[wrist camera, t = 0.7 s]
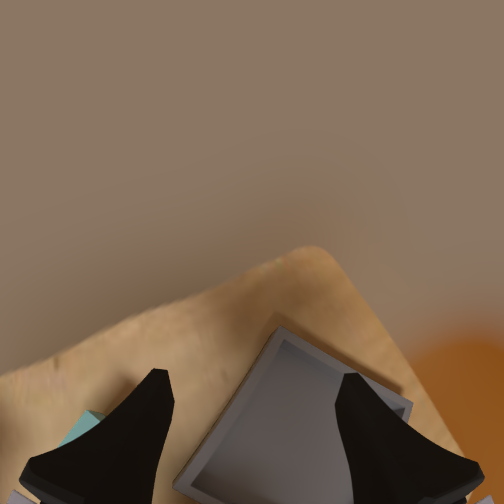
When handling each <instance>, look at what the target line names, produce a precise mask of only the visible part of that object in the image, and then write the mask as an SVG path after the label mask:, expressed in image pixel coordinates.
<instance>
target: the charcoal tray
mask: <svg viewBox="0 0 504 504" xmlns="http://www.w3.org/2000/svg"><path fill="white" fill-rule="evenodd" d="M356 372H357V371H355V370H354V369H352V368H350V367H348V366H347V365H345V364H343V363H342V362H340V361H338V360H336V359H335V358H333V357H331V356H330V355H328V354H326V353H325V352H323V351H321V350H320V349H318V348H316V347H315V346H313V345H311V344H310V343H308V342H306V341H305V340H303V339H302V338H300V337H298V336H297V335H295V334H293V333H292V332H290V331H289V330H287V329H285V328H284V327H282V326H281V325H280V326H279V327H278V328H277V329H276V330H275V331H274V332H273V333H272V334H271V336H270V338H269V339H268V341H267V343H266V344H265V346H264V348H263V349H262V351H261V352H260V354H259V356H258V357H257V359H256V361H255V362H254V364H253V365H252V367H251V369H250V370H249V372H248V373H247V375H246V377H245V378H244V380H243V381H242V383H241V384H240V386H239V388H238V389H237V391H236V392H235V394H234V395H233V397H232V398H231V400H230V401H229V403H228V404H227V406H226V408H225V409H224V411H223V412H222V414H221V415H220V417H219V418H218V419H217V421H216V422H215V424H214V425H213V427H212V428H211V430H210V431H209V433H208V434H207V436H206V437H205V438H204V440H203V441H202V443H201V444H200V446H199V447H198V448H197V450H196V451H195V453H194V454H193V455H192V457H191V458H190V460H189V461H188V462H187V464H186V465H185V466H184V468H183V469H182V471H181V472H180V473H179V475H178V476H177V477H176V479H175V480H174V481H173V487H172V488H173V489H175V490H177V491H179V492H180V493H182V494H184V495H186V496H188V497H190V498H191V499H193V500H195V501H197V502H199V503H201V504H354V500H353V490H352V482H351V474H350V469H349V465H348V461H347V458H346V454H345V450H344V447H343V443H342V440H341V436H340V433H339V429H338V425H337V419H336V413H335V405H334V404H335V401H336V398H337V395H338V392H339V389H340V386H341V383H342V380H343V376H344V373H356ZM358 373H359V372H358ZM359 374H360V375H361V376H362V377H363V379H364V380H365V381H366V382H367V383H368V384H369V385H370V387H371V388H372V389H373V390H374V391H375V392H376V393H377V394H378V396H379V397H380V398H381V399H382V400H383V401H384V402H385V403H386V404H387V405H388V406H389V407H390V408H391V409H392V410H393V411H394V412H395V413H396V414H397V415H398V416H399V417H400V418H401V419H402V420H403V421H405V422H406V423H408V420H409V417H410V413H411V410H412V407H413V402H411V401H410V400H408V399H406V398H404V397H402V396H400V395H398V394H397V393H395V392H393V391H391V390H389V389H387V388H386V387H384V386H382V385H380V384H378V383H377V382H375V381H373V380H371V379H369V378H368V377H366V376H364V375H362V374H361V373H359Z"/></svg>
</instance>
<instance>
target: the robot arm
mask: <svg viewBox="0 0 504 504" xmlns="http://www.w3.org/2000/svg"><path fill="white" fill-rule="evenodd" d="M174 403H175V401H174V397H173V392H172V388H171V384H170V379H169V375H168V370H163V369H155V368H153V369H152V370H151V371H150V372H149V374H148V375H147V376H146V377H145V378H144V379H143V380H142V382H141V383H140V384H139V385H138V386H137V387H136V388H135V389H134V390H133V391H132V392H131V394H130V395H129V396H128V397H127V398H126V399H125V400H124V401H123V402H122V403H121V404H120V405H119V406H118V407H116V408H115V409H114V410H113V411H112V412H111V413H110V414H109V415H108V416H107V417H105V418H104V419H103V420H102V421H100V422H99V423H98V424H97V425H95V426H94V427H93V428H91V429H90V430H88V431H87V432H85V433H84V434H82V435H81V436H79V437H77V438H76V439H74V440H72V441H70V442H68V443H66V444H64V445H62V446H60V447H58V448H56V449H54V450H52V451H49V452H46V453H43V454H41V455H38V456H35V457H31V458H30V459H29V460H28V462H27V464H26V466H25V468H24V470H23V472H22V474H21V476H20V478H19V482H20V484H21V485H22V486H23V487H25V488H26V489H27V490H28V491H29V492H30V493H32V494H33V495H34V496H35V497H37V498H38V499H39V500H41V502H40V504H152V497H153V489H154V483H155V477H156V471H157V467H158V463H159V459H160V456H161V453H162V450H163V446H164V443H165V440H166V437H167V434H168V430H169V427H170V424H171V420H172V414H173V409H174ZM334 405H335V413H336V419H337V425H338V429H339V433H340V436H341V440H342V443H343V447H344V450H345V454H346V458H347V461H348V465H349V469H350V474H351V482H352V490H353V500H354V504H466V503H467V500H466V497H465V496H466V495H468V494H469V493H470V492H472V491H473V490H474V489H475V488H476V487H478V486H479V485H480V484H481V483H482V482H483V480H484V478H485V476H484V474H483V472H482V470H481V468H480V466H479V464H478V462H475V461H472V460H470V459H467V458H464V457H461V456H459V455H456V454H454V453H452V452H450V451H448V450H446V449H444V448H442V447H440V446H438V445H437V444H435V443H433V442H432V441H430V440H429V439H427V438H425V437H424V436H423V435H421V434H420V433H418V432H417V431H416V430H414V429H413V428H412V427H411V426H409V425H408V424H407V423H406V422H405V421H403V420H402V419H401V418H400V417H399V416H398V415H397V414H396V413H395V412H394V411H393V410H392V409H391V408H390V407H389V406H388V405H387V404H386V403H385V402H384V401H383V400H382V399H381V398H380V397H379V396H378V394H377V393H376V392H375V391H374V390H373V389H372V388H371V387H370V385H369V384H368V383H367V382H366V381H365V380H364V379H363V377H362V376H361V375H360V374H359V373H358V372H356V373H344V376H343V380H342V383H341V386H340V389H339V392H338V395H337V398H336V401H335V404H334ZM7 504H37V503H35V502H33V501H32V500H30V499H28V498H27V497H25V496H24V495H22V494H20V493H19V492H17V491H16V490H12V493H11V495H10V497H9V499H8V501H7ZM475 504H494V502H493V500H492V498H491V496H490V495H488V496H486V497H485V498H483V499H481V500H480V501H478V502H476V503H475Z"/></svg>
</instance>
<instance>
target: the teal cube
mask: <svg viewBox="0 0 504 504" xmlns="http://www.w3.org/2000/svg"><path fill="white" fill-rule="evenodd" d="M105 417H106V416H104V415H103V414H102V413H98V412H94V411H90V410H86V411H85V412H84V414H83V415H82V416H81V418H80V419H79V420H78V421H77V423H76V424H75V425H74V427H73V428H72V429H71V430H70V432H69V433H68V434H67V436H66V437H65V438H64V440H63V441H62V442H61V444H60V445H59V446H58V447H60V446H62V445H64V444H66V443H68V442H70V441H72V440H74V439H76V438H77V437H79V436H81V435H82V434H84V433H85V432H87V431H88V430H90V429H91V428H93V427H94V426H95V425H97V424H98V423H99V422H100V421H102V420H103V419H104V418H105ZM58 447H57V448H58Z"/></svg>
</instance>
